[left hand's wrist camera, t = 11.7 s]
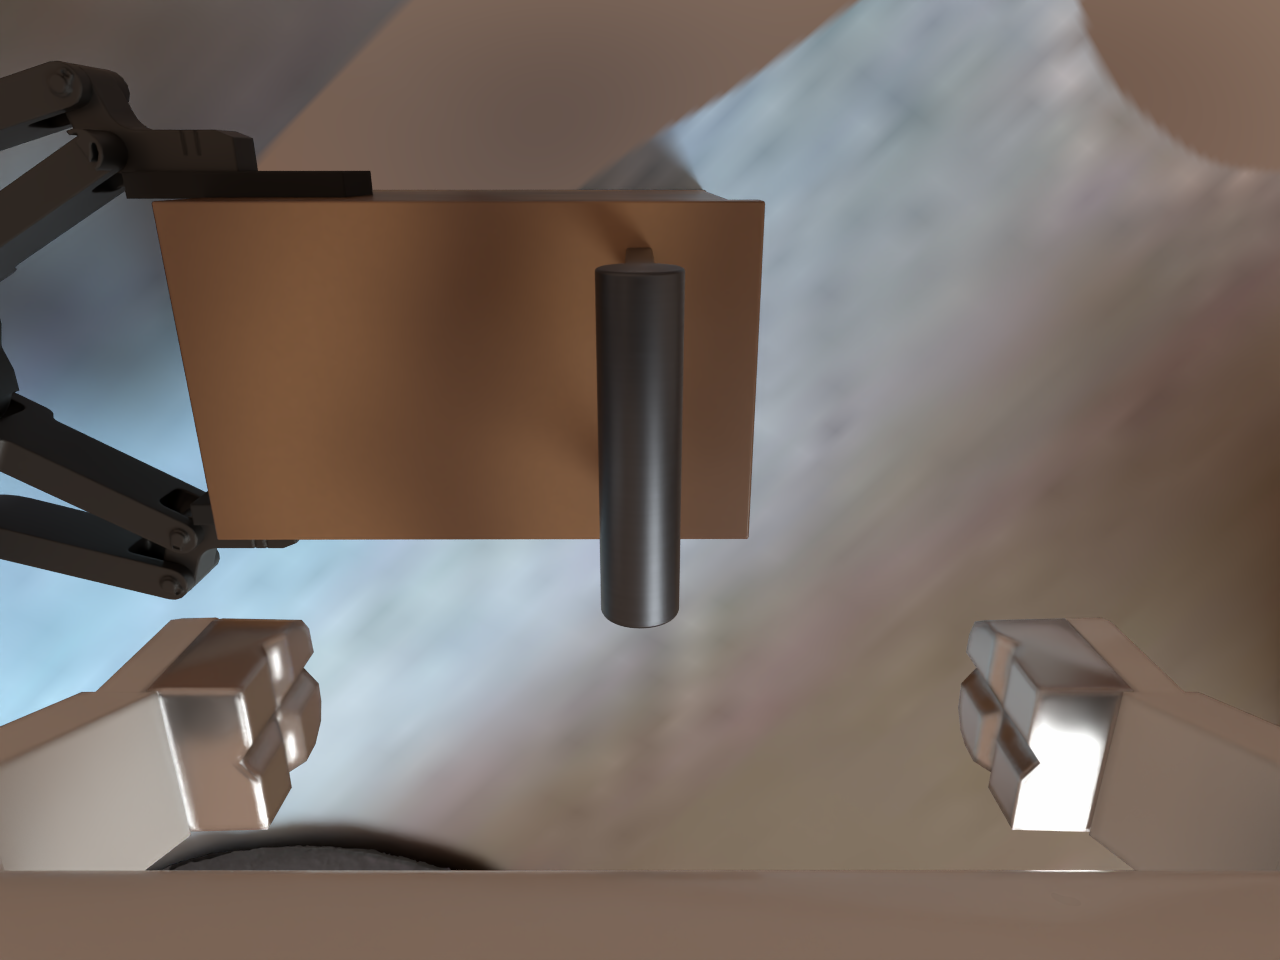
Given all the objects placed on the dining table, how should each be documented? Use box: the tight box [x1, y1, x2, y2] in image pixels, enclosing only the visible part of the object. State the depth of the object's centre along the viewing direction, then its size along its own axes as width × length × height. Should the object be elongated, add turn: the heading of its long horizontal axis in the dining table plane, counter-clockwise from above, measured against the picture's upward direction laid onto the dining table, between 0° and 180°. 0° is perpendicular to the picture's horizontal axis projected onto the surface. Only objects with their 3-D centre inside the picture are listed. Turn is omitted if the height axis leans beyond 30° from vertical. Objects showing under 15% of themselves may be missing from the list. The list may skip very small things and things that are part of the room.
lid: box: [152, 200, 765, 628], centre depth 21 cm, size 16×10×8 cm, turn 90°
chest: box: [178, 190, 727, 200], centre depth 29 cm, size 16×10×10 cm, turn 90°
